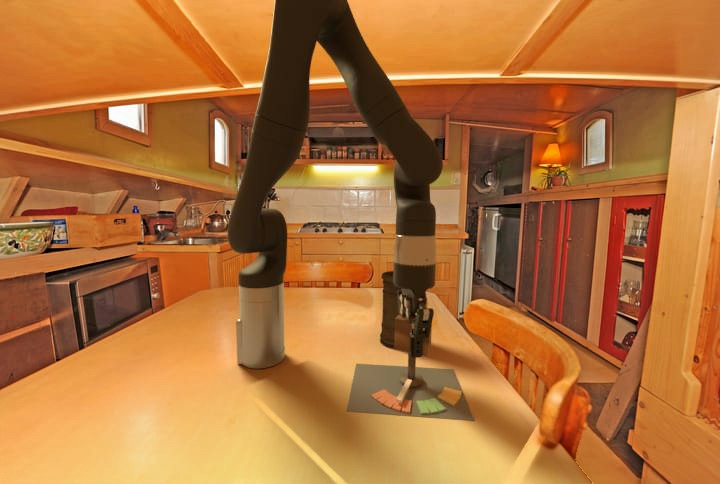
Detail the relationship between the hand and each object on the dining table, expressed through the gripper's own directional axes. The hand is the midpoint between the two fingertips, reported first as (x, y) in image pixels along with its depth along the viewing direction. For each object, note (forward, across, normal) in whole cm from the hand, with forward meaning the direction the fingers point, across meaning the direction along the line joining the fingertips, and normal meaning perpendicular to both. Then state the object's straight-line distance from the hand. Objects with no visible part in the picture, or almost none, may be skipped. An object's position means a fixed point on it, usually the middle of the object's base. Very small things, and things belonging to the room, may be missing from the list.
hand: (412, 350), depth 56 cm
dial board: (+7, -2, +1) cm, 8 cm away
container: (+7, +18, -2) cm, 19 cm away
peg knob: (+6, -2, +2) cm, 7 cm away
